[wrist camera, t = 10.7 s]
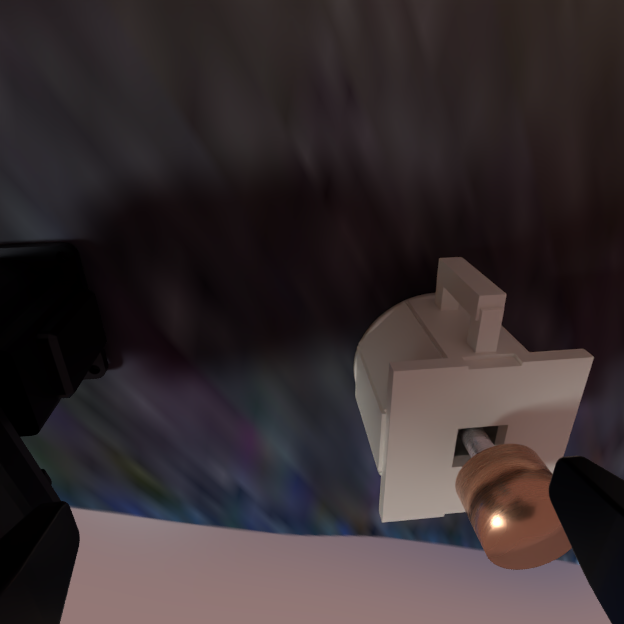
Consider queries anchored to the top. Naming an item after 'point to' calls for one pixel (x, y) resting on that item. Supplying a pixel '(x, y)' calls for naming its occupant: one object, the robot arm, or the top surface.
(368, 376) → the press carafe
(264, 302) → the top surface
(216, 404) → the top surface
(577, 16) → the top surface
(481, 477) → the plunger
